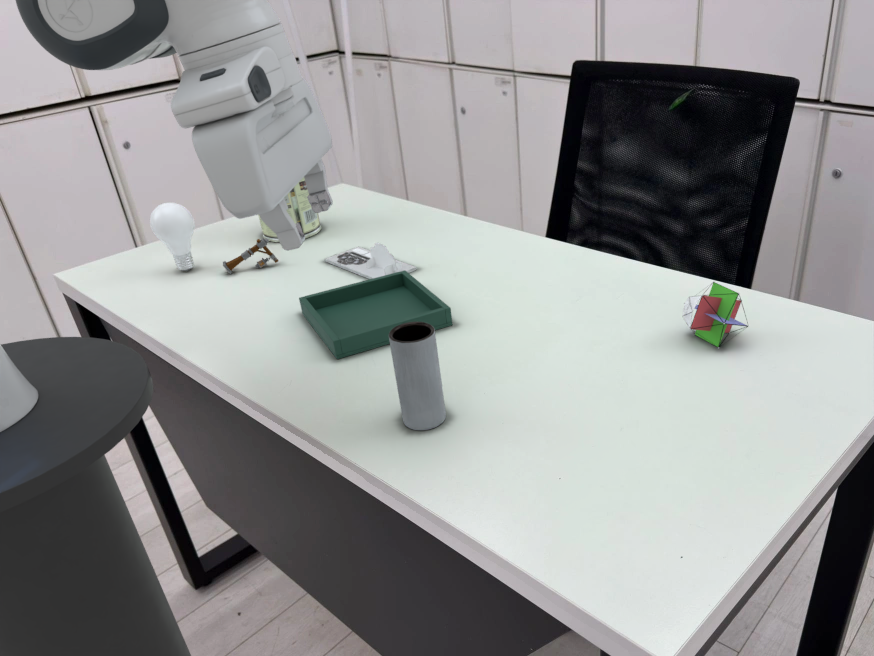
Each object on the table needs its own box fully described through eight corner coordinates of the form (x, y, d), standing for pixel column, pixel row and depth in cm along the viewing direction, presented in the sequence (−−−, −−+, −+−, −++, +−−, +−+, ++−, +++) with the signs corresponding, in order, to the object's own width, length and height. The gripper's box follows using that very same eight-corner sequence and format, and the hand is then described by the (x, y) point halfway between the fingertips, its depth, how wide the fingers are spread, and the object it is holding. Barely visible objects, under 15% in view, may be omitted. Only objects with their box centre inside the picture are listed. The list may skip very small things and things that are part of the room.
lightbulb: (200, 259, 123) (181, 194, 118) (212, 270, 119) (193, 202, 113) (161, 270, 120) (139, 203, 115) (171, 281, 116) (149, 212, 110)
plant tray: (337, 359, 91) (333, 341, 89) (302, 314, 102) (298, 297, 101) (452, 325, 97) (450, 307, 95) (407, 286, 108) (405, 270, 107)
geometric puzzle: (728, 301, 92) (702, 262, 87) (770, 320, 87) (744, 280, 82) (690, 344, 92) (662, 308, 87) (730, 367, 87) (702, 329, 82)
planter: (430, 435, 75) (417, 345, 70) (394, 425, 77) (378, 337, 72) (454, 412, 79) (443, 325, 73) (419, 403, 81) (406, 318, 75)
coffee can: (269, 225, 137) (250, 147, 129) (325, 220, 137) (310, 142, 130) (256, 245, 128) (235, 162, 121) (316, 240, 128) (299, 157, 121)
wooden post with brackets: (283, 259, 118) (265, 236, 116) (240, 286, 118) (221, 264, 116) (282, 255, 120) (264, 233, 117) (240, 282, 120) (221, 260, 117)
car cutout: (416, 269, 114) (412, 241, 111) (381, 284, 110) (376, 255, 107) (359, 248, 123) (354, 222, 121) (325, 261, 119) (319, 234, 117)
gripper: (254, 63, 72) (311, 198, 79) (159, 113, 55) (242, 279, 62) (314, 45, 71) (366, 183, 78) (235, 90, 54) (311, 262, 61)
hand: (310, 226), depth 70 cm, fingers open, 8 cm apart
